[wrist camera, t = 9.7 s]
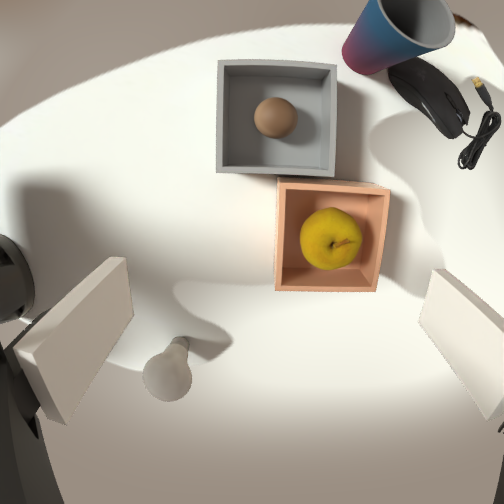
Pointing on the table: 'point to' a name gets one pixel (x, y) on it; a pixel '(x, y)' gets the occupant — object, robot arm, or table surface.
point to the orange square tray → (316, 198)
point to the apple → (330, 239)
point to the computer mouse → (444, 104)
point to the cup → (397, 33)
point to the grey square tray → (283, 86)
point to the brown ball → (276, 118)
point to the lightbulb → (169, 372)
